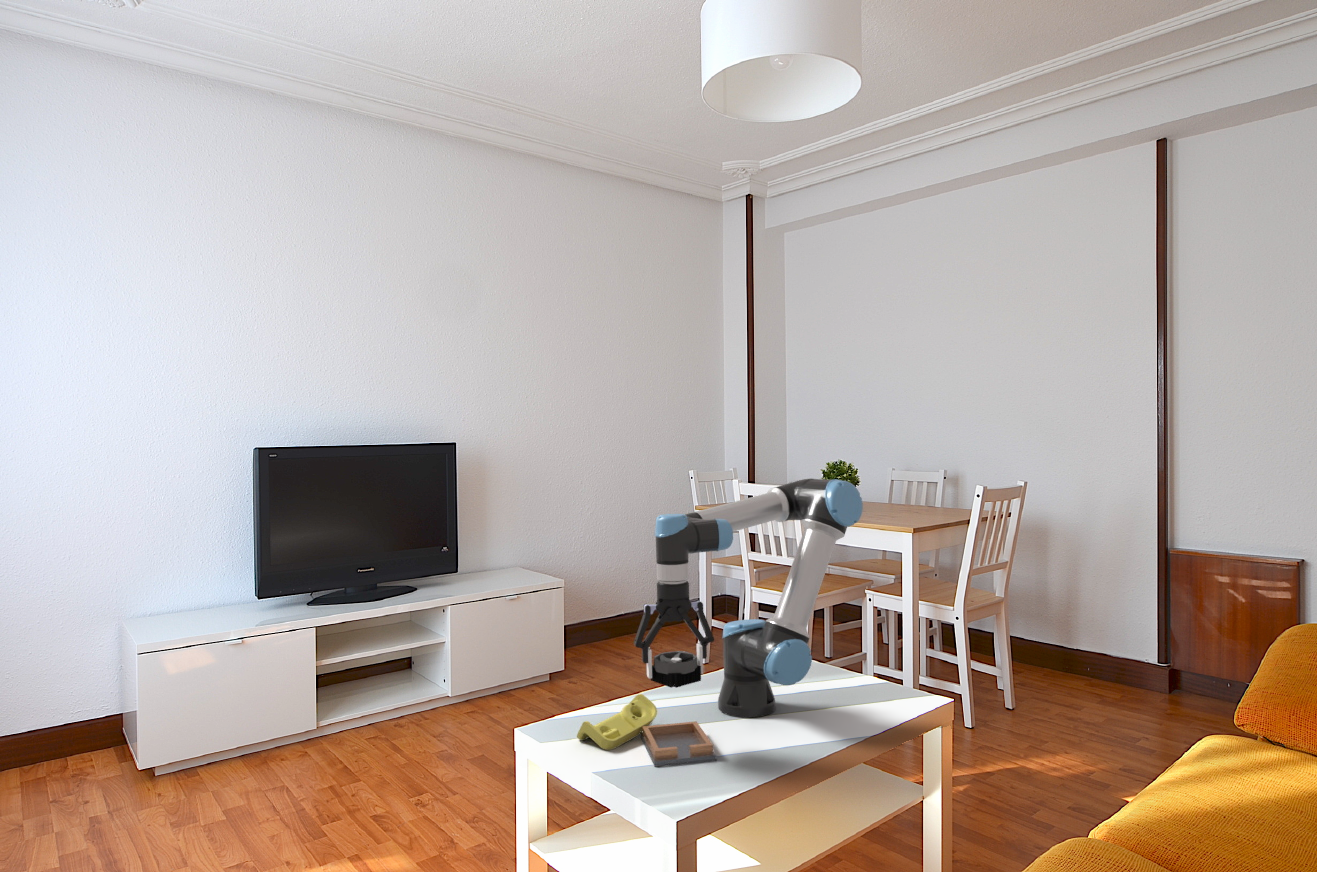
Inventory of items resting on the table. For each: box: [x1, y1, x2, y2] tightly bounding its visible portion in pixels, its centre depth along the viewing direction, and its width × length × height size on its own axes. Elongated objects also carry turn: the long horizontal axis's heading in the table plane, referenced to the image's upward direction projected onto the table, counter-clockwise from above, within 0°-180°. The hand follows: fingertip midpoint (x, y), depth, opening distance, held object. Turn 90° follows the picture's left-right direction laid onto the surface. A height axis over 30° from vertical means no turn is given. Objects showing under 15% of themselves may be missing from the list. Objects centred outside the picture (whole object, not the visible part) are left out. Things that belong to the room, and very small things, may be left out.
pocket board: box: [639, 721, 717, 768], centre depth 186 cm, size 14×18×3 cm
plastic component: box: [576, 693, 658, 751], centre depth 195 cm, size 20×7×10 cm
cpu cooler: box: [650, 650, 702, 688], centre depth 185 cm, size 10×6×10 cm
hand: (674, 674), depth 186 cm, fingers closed on cpu cooler, 11 cm apart
